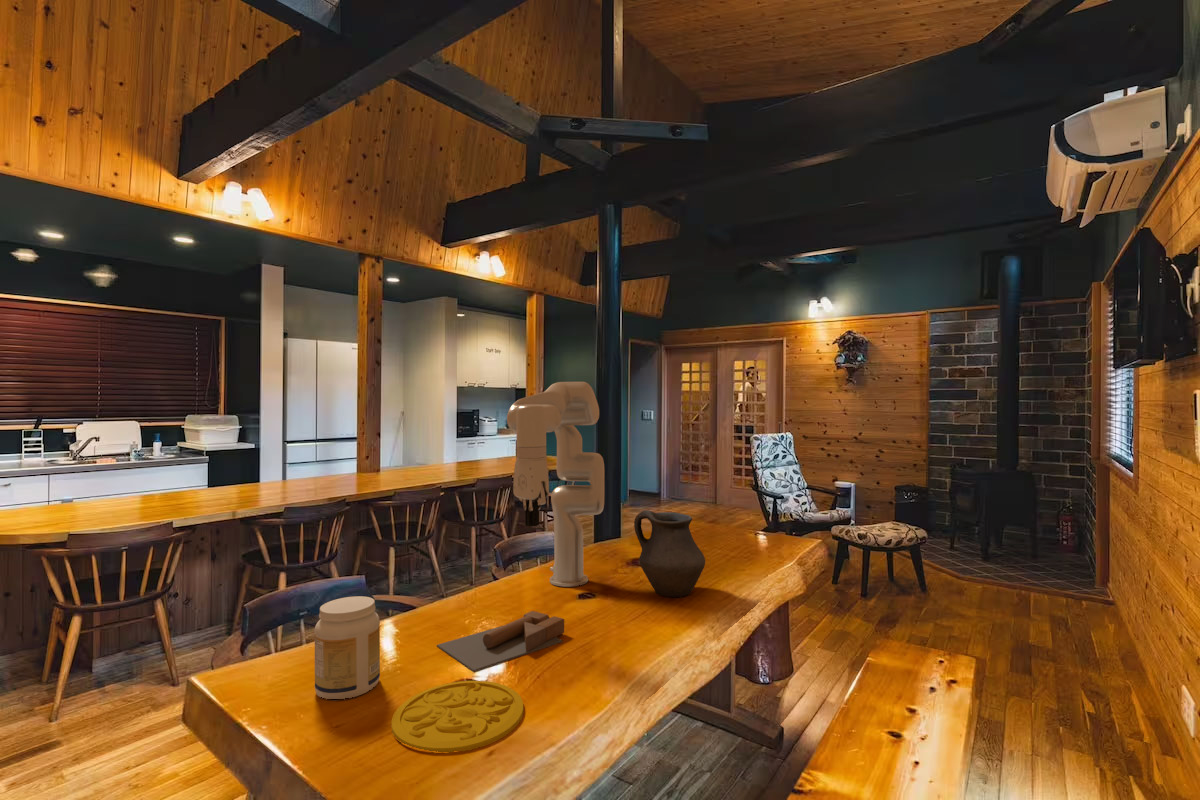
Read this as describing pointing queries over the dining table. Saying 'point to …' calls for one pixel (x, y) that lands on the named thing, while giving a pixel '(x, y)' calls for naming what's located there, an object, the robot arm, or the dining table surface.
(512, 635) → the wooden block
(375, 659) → the supplement tub
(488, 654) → the mat
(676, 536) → the pitcher
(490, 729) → the decorative medallion
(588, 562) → the dining table surface
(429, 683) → the dining table surface
